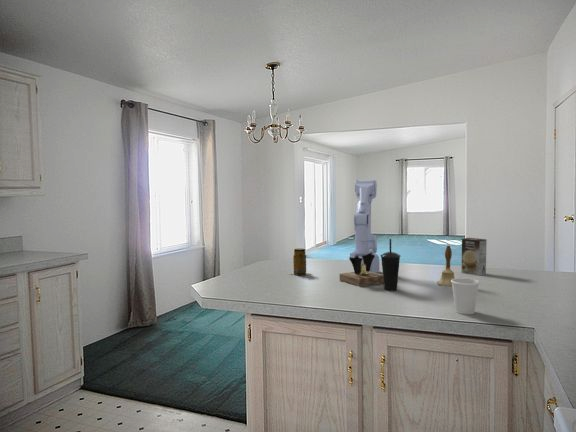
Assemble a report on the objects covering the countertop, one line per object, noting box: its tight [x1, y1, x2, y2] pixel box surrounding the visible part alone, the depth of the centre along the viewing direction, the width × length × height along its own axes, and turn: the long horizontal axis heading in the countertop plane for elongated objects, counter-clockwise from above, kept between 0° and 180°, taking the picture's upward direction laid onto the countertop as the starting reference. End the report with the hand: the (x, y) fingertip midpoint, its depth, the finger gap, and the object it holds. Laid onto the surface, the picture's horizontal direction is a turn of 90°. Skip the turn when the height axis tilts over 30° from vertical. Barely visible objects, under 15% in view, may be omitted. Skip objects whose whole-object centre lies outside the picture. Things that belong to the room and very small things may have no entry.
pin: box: [358, 263, 366, 276], centre depth 184 cm, size 4×4×7 cm
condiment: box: [289, 248, 312, 277], centre depth 203 cm, size 7×8×12 cm
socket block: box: [339, 271, 384, 287], centre depth 184 cm, size 14×14×3 cm
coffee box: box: [460, 237, 488, 276], centre depth 197 cm, size 9×6×16 cm
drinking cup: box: [379, 238, 401, 292], centre depth 168 cm, size 8×8×20 cm
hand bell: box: [436, 245, 456, 287], centre depth 175 cm, size 8×8×16 cm
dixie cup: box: [451, 277, 480, 315], centre depth 135 cm, size 8×8×10 cm
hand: (362, 272), depth 184 cm, fingers open, 7 cm apart
